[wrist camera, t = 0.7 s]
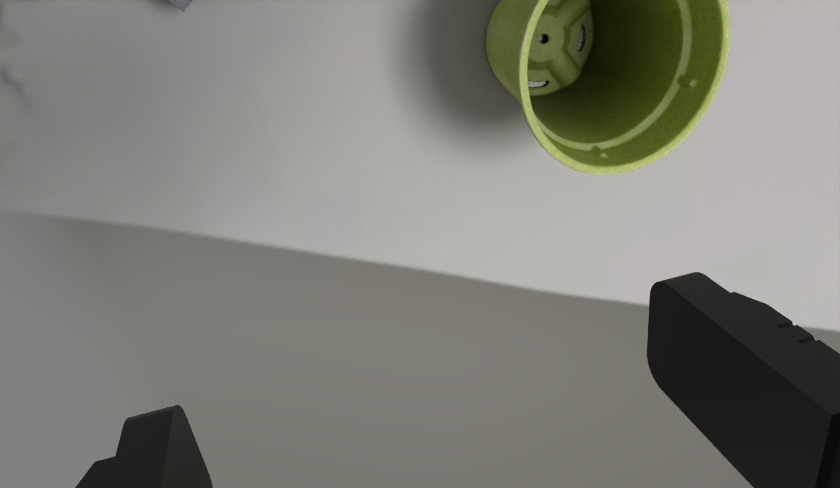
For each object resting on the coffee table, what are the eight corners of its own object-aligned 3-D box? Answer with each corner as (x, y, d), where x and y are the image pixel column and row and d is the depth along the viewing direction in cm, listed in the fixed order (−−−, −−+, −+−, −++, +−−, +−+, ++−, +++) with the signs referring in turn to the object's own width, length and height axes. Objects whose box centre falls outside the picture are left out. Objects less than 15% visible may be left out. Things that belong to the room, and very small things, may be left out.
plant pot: (450, 132, 33) (513, 184, 26) (454, -63, 29) (529, -69, 22) (606, 120, 36) (706, 166, 28) (629, -63, 32) (753, -68, 24)
